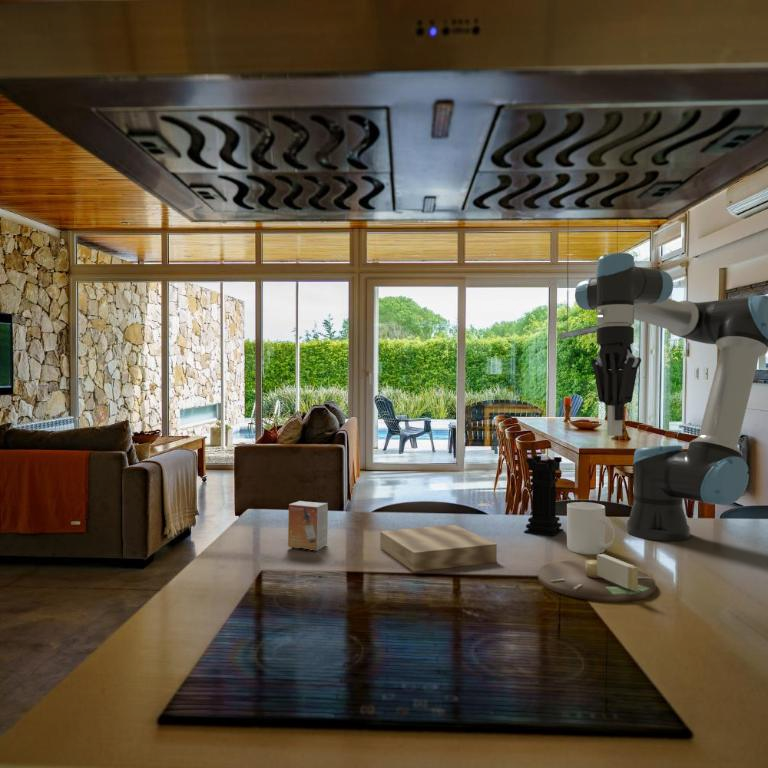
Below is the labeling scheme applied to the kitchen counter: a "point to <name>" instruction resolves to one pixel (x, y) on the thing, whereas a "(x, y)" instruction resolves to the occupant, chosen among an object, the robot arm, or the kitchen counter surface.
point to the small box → (308, 525)
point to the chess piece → (543, 497)
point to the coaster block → (437, 547)
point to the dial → (591, 583)
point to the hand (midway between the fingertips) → (614, 435)
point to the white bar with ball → (613, 571)
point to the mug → (587, 528)
